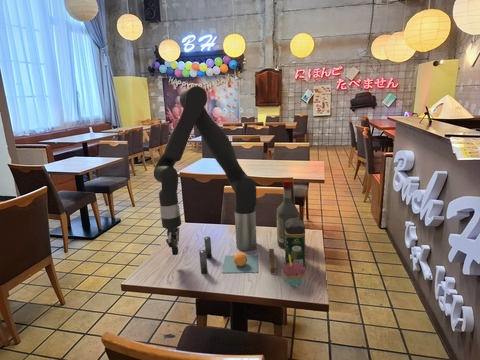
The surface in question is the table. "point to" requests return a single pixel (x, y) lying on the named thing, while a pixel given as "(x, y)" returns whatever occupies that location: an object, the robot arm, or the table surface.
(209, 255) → the post
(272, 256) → the stopper wall
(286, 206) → the liquor
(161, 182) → the robot arm
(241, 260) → the ball
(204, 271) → the post
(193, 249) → the table surface
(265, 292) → the table surface
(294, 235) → the coffee jar
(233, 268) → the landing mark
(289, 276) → the cupcake
